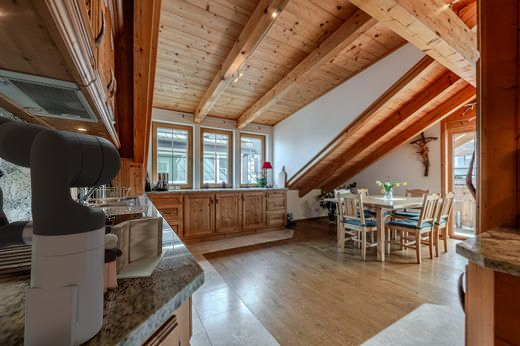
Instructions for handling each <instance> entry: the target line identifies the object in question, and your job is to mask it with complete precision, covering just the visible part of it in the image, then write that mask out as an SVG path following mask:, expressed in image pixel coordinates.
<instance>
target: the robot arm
mask: <svg viewBox="0 0 520 346" xmlns="http://www.w3.org/2000/svg"><path fill="white" fill-rule="evenodd" d="M0 159H2V160H3V161H5V162H8V163H11V164H13V165H15V166H18V167H22V168H25V169H29V174H30V195H31V196H30V197H31V198H30V199H31V200H30V202H31V203H30V209H31V210H30V211H31V220H16V221H15V220H14V221H12V222H10V221H9V218H8V217H7V215H6V213H5V211H4V191H3V189H2V187H1V186H0V249H4V248H8V247H12V246H27V245H29V246H31V263H30V288H29V289H28V290H26V292H25V305H24V306H25V307H24V308H25V310H24V335H23V338H24V339H23V340H24V341H23V346H80V345H83V344H85V342H88V341H89V340H90V339H92V338H93V337H95V335H97V334H98V333H99V331H100V330H101V329H102V327H103V319H104V318H103V317H104V315H103V314H104V293H103V291H104V255H105V235H107V234H111V227H114V225H113V224H111V225H106V220H107V219H106V217H107V215H106V212H105V210H103V209H101V208H98V207H93V206H90V205H85V204H83V203H80V202H78V201H76V200H75V199H74V198H73V195H72V194H71V193H72V192H71V189H74V188H77V189H80V188H82V189H83V188H84V189H85V188H97V187H101V186H102V187H103V186H105V185H108V184H109V183H111V182H112V181H113V180H115V178H116V177H118V175H119V173H120V170H121V167H122V160H121V156H120V153H119V151H118V149H117V147H116V146H115V145H114V143H112V142H111V141H110V140H108V139H106V138H104V137H101V136H98V135H92V134H85V133H80V132H74V131H73V132H72V131H69V130H68V131H66V130H61V129H53V128H51V127H47V126H43V125H41V124H37V123H32V122H26V121H17V120H15V119H13V118H11V117H9V116H4V115H0Z"/></svg>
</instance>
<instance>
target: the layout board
mask: <svg viewBox="0 0 520 346" xmlns="http://www.w3.org/2000/svg"><path fill="white" fill-rule="evenodd" d="M168 249H169V250H170V248H169V247H167V248H165V247H164V248H163V247H162V254H161V255H155V256H151V257H147V258H143V259H139V260H135V261H131V262H128V265H127V266H126V267H125V268H124V269H123V270H122V271H120V274H118V275H117V276H116V277H117V280H119V279H120V280H121V279H122V280H123V279H131V278H132V279H134V278H136V279H137V278H150V277H151V276H152V274H153V273H154V271H155V270H156V268H157V267H158V265H159V264H160V263H161V261H162V260H163V258H164V257H165V256H166V254H167V253H168V251H169V250H168ZM164 255H165V256H164Z"/></svg>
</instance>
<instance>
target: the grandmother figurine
mask: <svg viewBox="0 0 520 346" xmlns="http://www.w3.org/2000/svg"><path fill="white" fill-rule="evenodd" d="M117 240H118V237H117V236H116V235H114V234H111V233H107V234H105V255H104V291H103V294H105V293H107V292H108V290H113V289H116V288H118V282H117V280H118V279H117V277H116V257H119V258H120V260H121V261H122V260H124V256H123V252H122V251H121V250H120V249H118V248H114V247H115V245H116V242H117Z"/></svg>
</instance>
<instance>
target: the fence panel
mask: <svg viewBox="0 0 520 346" xmlns="http://www.w3.org/2000/svg"><path fill="white" fill-rule="evenodd" d="M124 222H130V225H129V239H128V262H131V261H135V260H139V259H143V258H147V257H151V256H155V255H161V254H162V248H163V236H164V235H163V234H164V231H163V230H164V229H163V227H164V217H162V216H155V217H153V218H146V219H140V218H139V219H131V220H130V219H129V220H125V221H124Z"/></svg>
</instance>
